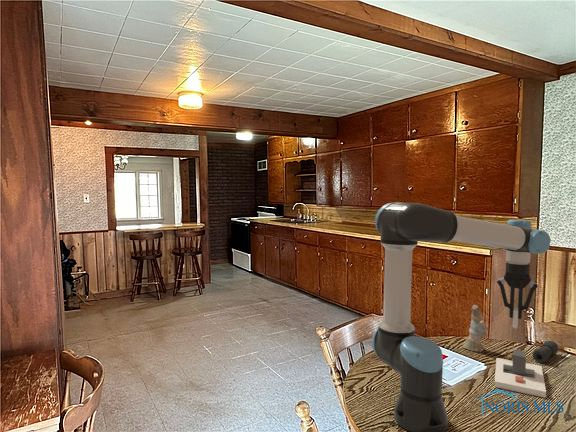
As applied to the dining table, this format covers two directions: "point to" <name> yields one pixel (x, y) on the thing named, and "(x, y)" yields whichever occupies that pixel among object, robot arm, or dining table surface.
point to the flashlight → (545, 351)
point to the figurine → (476, 331)
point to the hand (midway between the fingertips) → (515, 326)
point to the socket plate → (520, 378)
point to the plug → (519, 362)
